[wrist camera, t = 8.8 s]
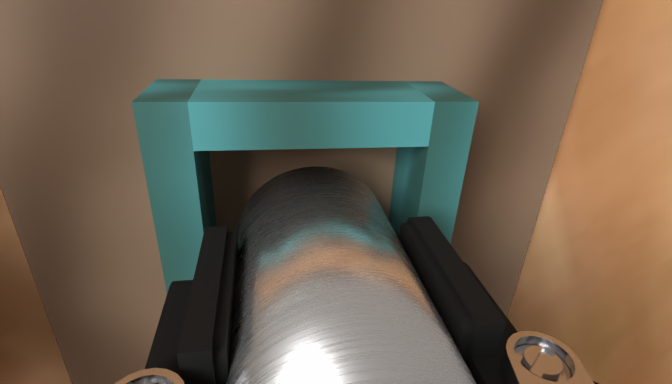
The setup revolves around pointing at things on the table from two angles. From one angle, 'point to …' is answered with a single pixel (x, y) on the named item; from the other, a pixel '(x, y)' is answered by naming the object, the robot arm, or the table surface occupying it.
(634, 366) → the table surface
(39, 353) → the table surface
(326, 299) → the steel roller
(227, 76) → the socket board
